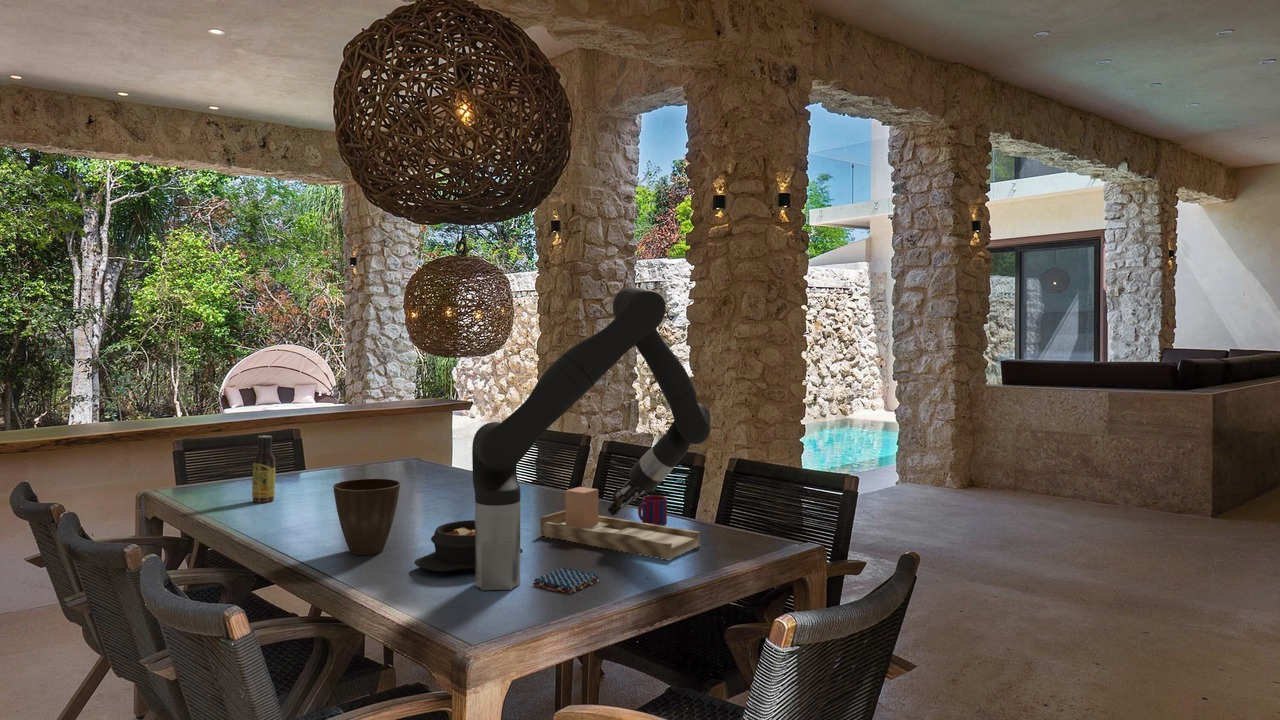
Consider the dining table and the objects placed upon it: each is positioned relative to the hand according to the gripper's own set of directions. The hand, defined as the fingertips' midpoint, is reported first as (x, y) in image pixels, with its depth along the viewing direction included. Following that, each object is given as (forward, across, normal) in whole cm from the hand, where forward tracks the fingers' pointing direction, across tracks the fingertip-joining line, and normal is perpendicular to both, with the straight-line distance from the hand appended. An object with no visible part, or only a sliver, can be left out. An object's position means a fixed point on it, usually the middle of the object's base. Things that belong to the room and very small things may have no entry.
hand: (611, 512), depth 205 cm
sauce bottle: (+84, +22, -75) cm, 115 cm away
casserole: (+15, +35, -5) cm, 38 cm away
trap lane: (+3, 0, +7) cm, 8 cm away
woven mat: (-4, +34, +14) cm, 37 cm away
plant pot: (+34, +41, -24) cm, 59 cm away
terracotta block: (+10, 0, -4) cm, 11 cm away
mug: (+6, -20, +4) cm, 22 cm away
